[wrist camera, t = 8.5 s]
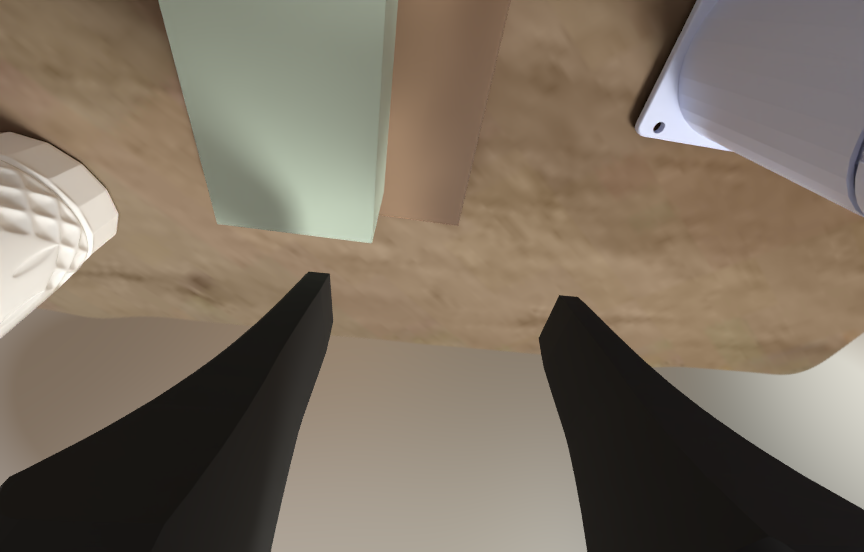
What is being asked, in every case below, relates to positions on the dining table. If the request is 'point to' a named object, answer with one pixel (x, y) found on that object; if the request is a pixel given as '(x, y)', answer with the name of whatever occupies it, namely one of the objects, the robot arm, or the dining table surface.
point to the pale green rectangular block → (289, 108)
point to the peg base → (438, 103)
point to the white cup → (45, 222)
